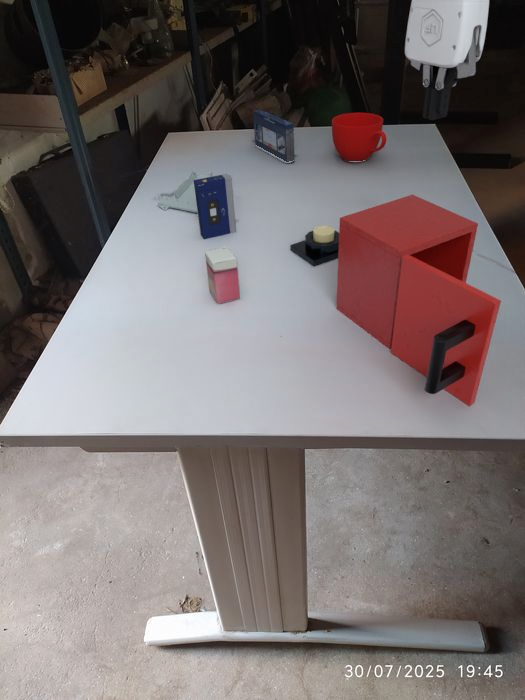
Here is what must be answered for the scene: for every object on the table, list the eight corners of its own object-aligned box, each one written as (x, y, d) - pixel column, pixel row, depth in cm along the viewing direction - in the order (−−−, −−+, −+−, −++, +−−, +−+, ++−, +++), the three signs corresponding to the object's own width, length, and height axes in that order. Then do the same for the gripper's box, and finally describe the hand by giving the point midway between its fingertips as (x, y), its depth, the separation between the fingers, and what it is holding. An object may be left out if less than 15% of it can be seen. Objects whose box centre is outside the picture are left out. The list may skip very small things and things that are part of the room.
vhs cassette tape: (254, 146, 156) (252, 110, 150) (263, 144, 157) (261, 108, 151) (285, 165, 143) (284, 125, 136) (295, 162, 144) (294, 123, 137)
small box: (208, 290, 95) (203, 250, 90) (232, 285, 96) (228, 245, 91) (217, 305, 91) (212, 263, 86) (241, 299, 92) (237, 257, 87)
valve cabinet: (458, 318, 84) (478, 223, 74) (389, 349, 79) (401, 251, 69) (401, 283, 93) (412, 194, 83) (336, 309, 88) (339, 217, 78)
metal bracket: (184, 163, 130) (237, 172, 123) (192, 184, 134) (243, 193, 128) (151, 201, 123) (205, 211, 117) (160, 221, 128) (212, 232, 121)
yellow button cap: (325, 232, 105) (326, 223, 103) (338, 239, 102) (338, 231, 101) (308, 237, 103) (308, 229, 102) (321, 245, 100) (321, 237, 99)
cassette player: (203, 239, 110) (196, 182, 103) (200, 235, 112) (192, 178, 105) (237, 232, 112) (232, 175, 105) (233, 227, 114) (228, 171, 107)
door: (438, 426, 66) (460, 322, 57) (360, 368, 76) (368, 270, 66) (474, 403, 69) (501, 300, 60) (395, 350, 79) (407, 253, 69)
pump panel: (331, 236, 109) (332, 222, 107) (356, 251, 103) (357, 237, 101) (290, 250, 105) (289, 236, 103) (313, 267, 99) (314, 252, 97)
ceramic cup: (363, 175, 134) (365, 133, 128) (320, 158, 145) (321, 119, 139) (401, 163, 139) (405, 122, 133) (357, 147, 150) (359, 109, 144)
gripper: (391, -39, 70) (379, 111, 81) (483, -38, 59) (455, 134, 70) (434, -44, 72) (417, 102, 84) (529, -43, 62) (495, 123, 73)
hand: (434, 117), depth 77 cm, fingers closed
